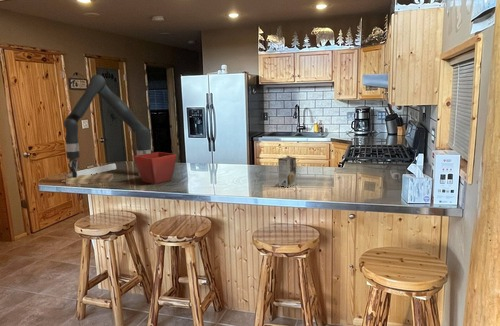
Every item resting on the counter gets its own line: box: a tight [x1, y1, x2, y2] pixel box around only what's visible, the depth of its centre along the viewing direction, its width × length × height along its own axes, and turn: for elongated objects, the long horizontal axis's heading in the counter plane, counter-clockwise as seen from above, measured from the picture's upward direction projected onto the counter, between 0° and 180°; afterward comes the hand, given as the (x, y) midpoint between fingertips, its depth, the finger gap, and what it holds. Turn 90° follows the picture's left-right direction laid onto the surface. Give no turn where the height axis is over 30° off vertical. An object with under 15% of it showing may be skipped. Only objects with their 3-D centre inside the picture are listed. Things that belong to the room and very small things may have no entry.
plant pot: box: [133, 151, 177, 185], centre depth 227 cm, size 19×19×17 cm
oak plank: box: [65, 174, 96, 185], centre depth 233 cm, size 14×14×3 cm
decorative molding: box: [66, 163, 117, 178], centre depth 264 cm, size 34×5×10 cm
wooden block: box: [89, 173, 114, 184], centre depth 235 cm, size 11×14×3 cm
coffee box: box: [277, 156, 297, 188], centre depth 207 cm, size 9×6×16 cm
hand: (74, 177), depth 232 cm, fingers closed
